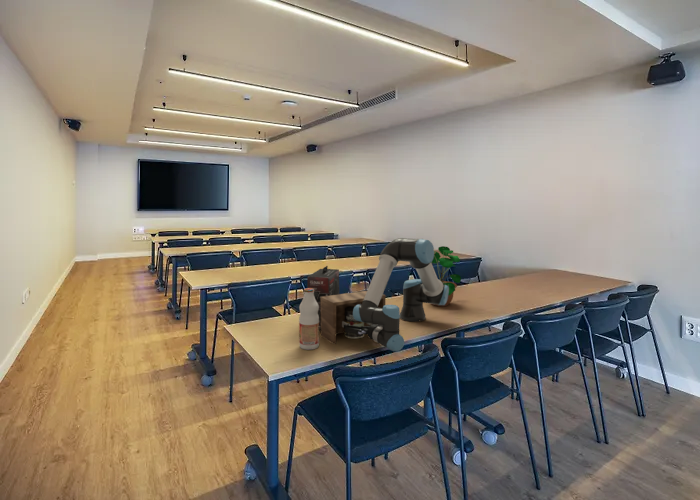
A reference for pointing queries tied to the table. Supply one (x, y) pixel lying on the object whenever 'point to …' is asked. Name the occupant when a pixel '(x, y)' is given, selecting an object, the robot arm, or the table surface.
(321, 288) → the headset box
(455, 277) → the potted plant
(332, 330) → the cubby
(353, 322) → the coffee can
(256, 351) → the table surface
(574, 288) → the table surface
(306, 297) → the fruit juice
